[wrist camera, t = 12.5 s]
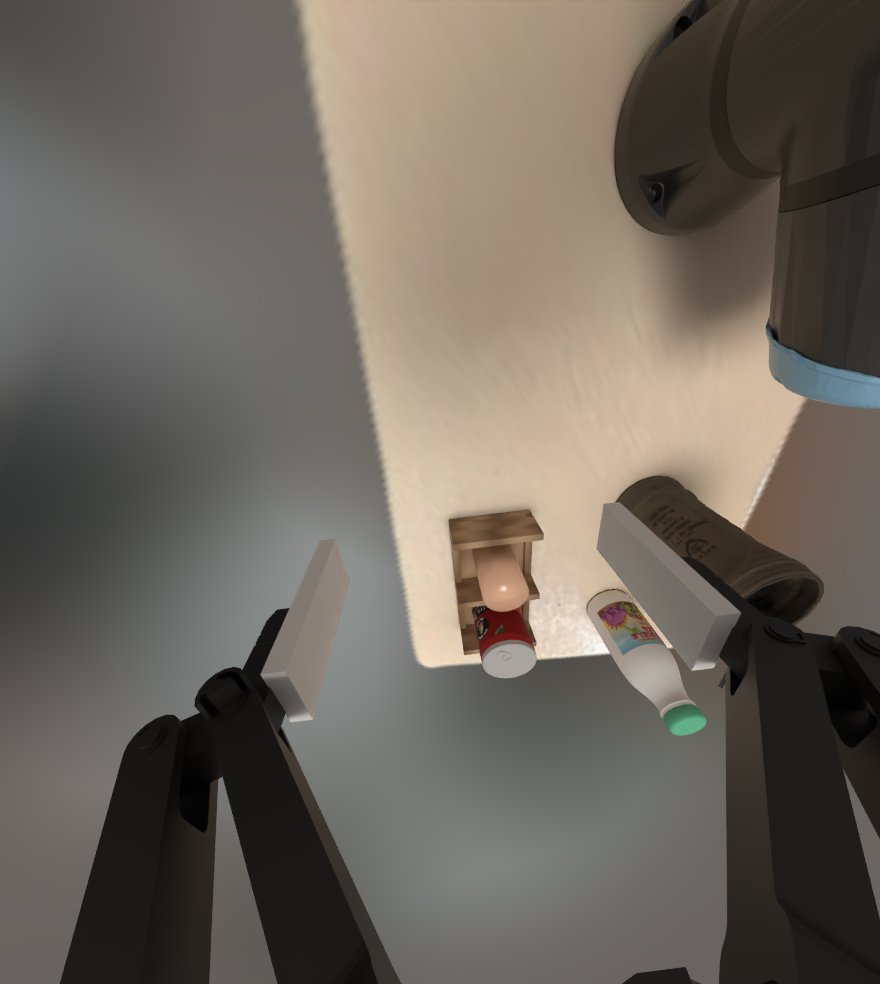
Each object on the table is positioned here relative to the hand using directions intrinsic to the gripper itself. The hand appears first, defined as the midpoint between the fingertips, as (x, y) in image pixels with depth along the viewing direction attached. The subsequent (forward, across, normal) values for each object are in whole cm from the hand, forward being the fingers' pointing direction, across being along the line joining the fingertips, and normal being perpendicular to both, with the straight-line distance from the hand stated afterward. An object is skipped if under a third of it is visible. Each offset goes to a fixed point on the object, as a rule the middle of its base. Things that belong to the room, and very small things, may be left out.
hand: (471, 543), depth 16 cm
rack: (+27, +6, -28) cm, 39 cm away
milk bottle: (+27, +26, -39) cm, 54 cm away
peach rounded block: (+26, +6, -22) cm, 34 cm away
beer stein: (+27, +32, -20) cm, 46 cm away
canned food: (+26, +6, -33) cm, 42 cm away
